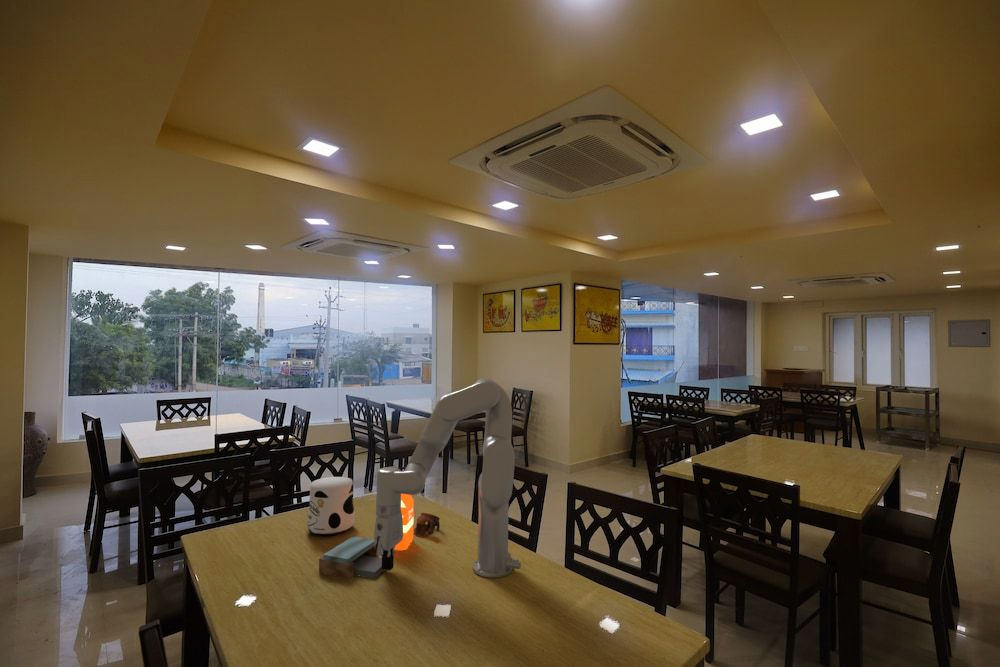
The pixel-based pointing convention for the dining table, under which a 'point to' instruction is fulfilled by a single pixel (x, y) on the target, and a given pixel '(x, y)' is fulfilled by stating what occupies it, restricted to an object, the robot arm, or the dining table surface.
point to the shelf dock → (342, 567)
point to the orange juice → (406, 521)
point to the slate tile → (367, 566)
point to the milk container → (331, 506)
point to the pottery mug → (423, 527)
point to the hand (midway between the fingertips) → (387, 568)
